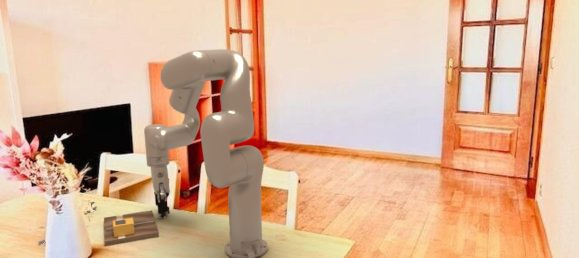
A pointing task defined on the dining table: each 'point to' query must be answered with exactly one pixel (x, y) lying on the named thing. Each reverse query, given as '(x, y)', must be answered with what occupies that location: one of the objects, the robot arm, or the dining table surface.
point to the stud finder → (123, 227)
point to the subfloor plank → (142, 228)
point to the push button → (162, 215)
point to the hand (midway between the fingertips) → (161, 208)
